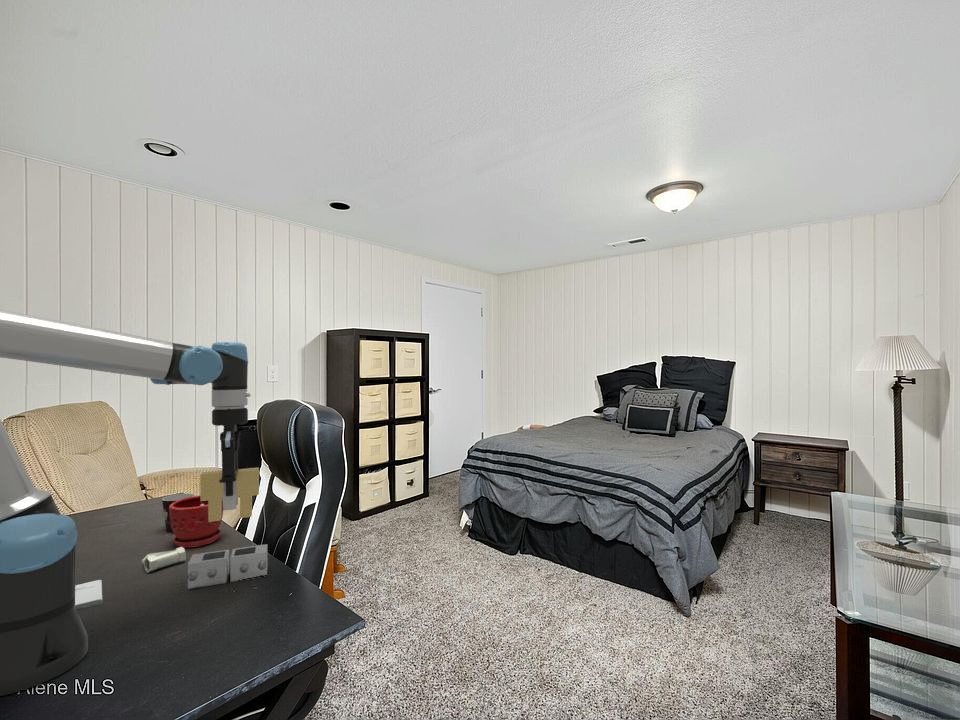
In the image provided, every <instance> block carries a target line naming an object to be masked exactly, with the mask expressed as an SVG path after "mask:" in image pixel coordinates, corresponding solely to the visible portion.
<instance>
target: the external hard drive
mask: <svg viewBox="0 0 960 720" xmlns="http://www.w3.org/2000/svg"><path fill="white" fill-rule="evenodd" d="M102 582H103V581H102V579H97V580H96V579H95V580H93V581H89V582H84V583H81V584H75V608H76V610H77V609H78V610H81V608H82V609H85V608H89V607H94V606H97V605H102V604H103V583H102ZM78 610H77V611H78Z"/></svg>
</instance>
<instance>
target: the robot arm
mask: <svg viewBox="0 0 960 720" xmlns="http://www.w3.org/2000/svg"><path fill="white" fill-rule="evenodd" d="M0 358H3V359H8V360H17V361H22V362H23V361H24V362H30V363H39V364H47V365H54V366H61V367H67V368H75V369H80V370H81V369H82V370H91V371H96V372H104V373H110V374H112V373H113V374H118V375H125V376H126V375H127V376H132V377H133V376H134V377H138V378H139V377H141V378H148V379H149V380H150V381H151V383H152V384H155V385H165V386H166V385H194V386H196V385H197V386H204V385H208V384H211V407H213V408H214V409H213V410H212V411H211V423H212V426H217V427H218V426H219V427H220V426H222V427H223V431H221V433H219V441H220V452H221V471H222V480H219V482H220V483H222V482H223V512H224V511H231V510H237V506H238V505H239V497H236V477H235V469H239V448H240V438H241V431H239V430H238V428H237V427H238V426H237V425H239V426H240V425H245V424H248V422H249V410H248V408H247V407H245V406H247V405H248V401H249V400H248V398H250V397H251V393H250V392H248V374H249V373H248V368H249V367H248V365H249V359H248V349H247V346H246V344H244V343H242V342H235V341H234V342H231V341H229V342H228V341H227V342H226V341H225V342H224V341H222V342H214V343H212V344H211V347H207V346H202V345H197V346H194V345H188V344H187V345H186V344H182V343H175V342H171V341H167V340H161V339H156V338H151V337H145V336H140V335H135V334H129V333H123V332H118V331H114V330H107V329H103V328H99V327H98V328H97V327H92V326H88V325H87V326H86V325H82V324H77V323H70V322H66V321H60V320H56V319H50V318H45V317H39V316H35V315H30V314H29V315H28V314H24V313H19V312H18V313H17V312H13V311H8V310H2V309H0ZM16 449H17V448H15V445H14V443H13V442H12V440H11V437H10V436H9V434H8V432H7V430H6V428H5V426H4V424H3V422H2V420H1V419H0V697H3V696H7V695H9V694H10V695H11V694H15V693H18V692H21V691H25V690H27V689H30V688H34V687H35V686H38V685H41V684H43V683H46V682H48V681H50V680H52V679H54V678H56V677H58V676H60V675H62V674H64V673H65V672H67V671H69V670H71V669H72V668H73V667H75V666H76V665H77V664H78V663H79V662H81V661H82V659H84V657H86V655H87V653H88V650H89V636H88V632H87V630H86V629H85V626H84V624H83V621H82V619H81V617H80V615H79V613H78V610H76V608H75V585H76V567H77V565H76V559H77V558H76V557H77V555H76V553H77V552H76V551H77V550H76V549H77V547H76V546H77V544H76V543H77V541H78V531H77V528H76V522H75V520H74V519H73V518H72V517H71V516H69V515H66V514H61V511H60V510H59V508H58V506H57V504H56V501H55V500H54V498H53V496H52V494H51V493H50V491H48V490H43V489H38V488H37V487H35V485H34V483H33V481H32V479H31V477H30V475H29V473H28V471H27V469H26V467H25V465H24V464H23V461H22V459H21V457H20V456H19V454H18V452H17V450H16Z"/></svg>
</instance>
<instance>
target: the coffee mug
mask: <svg viewBox="0 0 960 720" xmlns="http://www.w3.org/2000/svg"><path fill="white" fill-rule="evenodd" d="M193 496H196V494H195V493H190V492H189V493H178V494H170V495H167V496H164V497H162V499H161V501H162V511H163V516H164V517H163V518H164V524H165V532H166V533H167V534H174V532H173V530H172V527H171V522H170V515H169V506H170V505H171V504H172V503H174V502H176V501H178V500H181V499H184V498H188V497H193Z"/></svg>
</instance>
